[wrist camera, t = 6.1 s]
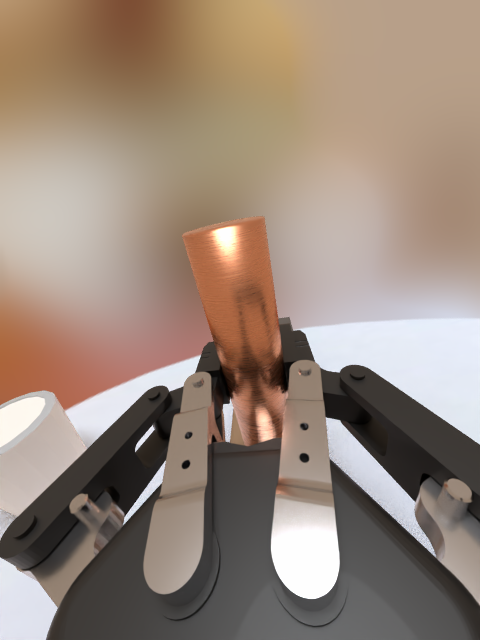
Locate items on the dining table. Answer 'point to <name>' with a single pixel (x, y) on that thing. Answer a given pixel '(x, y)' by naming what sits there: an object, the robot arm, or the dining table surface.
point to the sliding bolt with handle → (243, 320)
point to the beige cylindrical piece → (33, 448)
